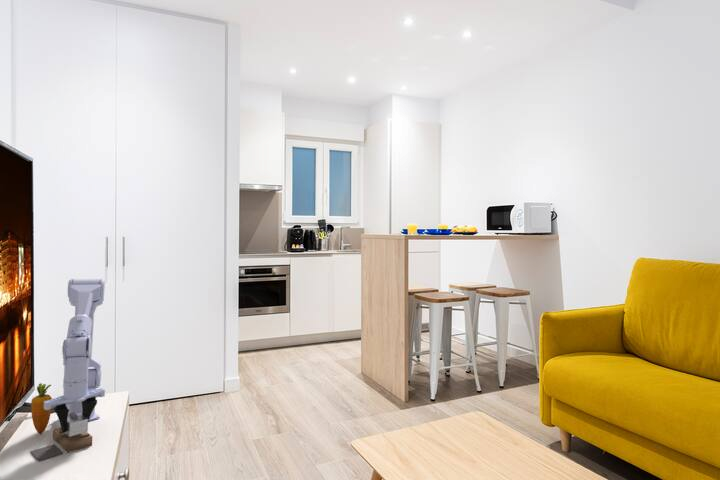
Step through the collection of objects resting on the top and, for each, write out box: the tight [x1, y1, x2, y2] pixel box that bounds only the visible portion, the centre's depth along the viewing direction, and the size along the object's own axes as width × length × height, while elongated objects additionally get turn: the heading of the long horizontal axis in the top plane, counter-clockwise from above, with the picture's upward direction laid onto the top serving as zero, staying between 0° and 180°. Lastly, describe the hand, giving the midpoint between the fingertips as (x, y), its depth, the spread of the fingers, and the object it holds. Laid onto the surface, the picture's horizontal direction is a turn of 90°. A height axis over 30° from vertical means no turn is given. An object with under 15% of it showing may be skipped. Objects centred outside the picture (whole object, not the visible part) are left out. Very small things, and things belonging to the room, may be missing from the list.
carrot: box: [30, 382, 53, 436], centre depth 130 cm, size 5×5×15 cm
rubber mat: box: [30, 443, 64, 462], centre depth 119 cm, size 7×6×1 cm
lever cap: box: [65, 412, 89, 437], centre depth 125 cm, size 6×4×4 cm
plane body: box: [52, 414, 93, 453], centre depth 126 cm, size 12×6×6 cm, turn 51°
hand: (74, 427), depth 125 cm, fingers closed on lever cap, 4 cm apart
